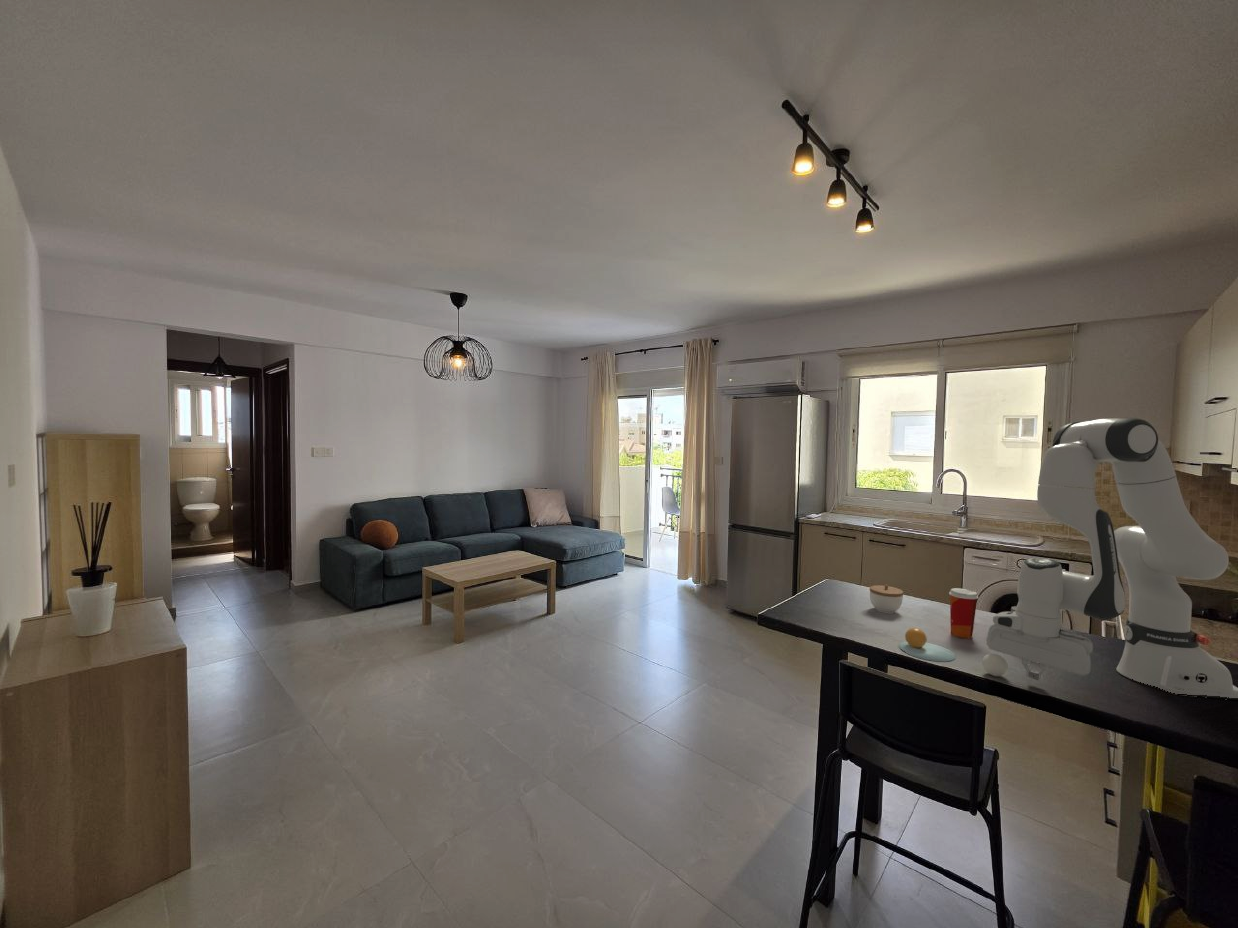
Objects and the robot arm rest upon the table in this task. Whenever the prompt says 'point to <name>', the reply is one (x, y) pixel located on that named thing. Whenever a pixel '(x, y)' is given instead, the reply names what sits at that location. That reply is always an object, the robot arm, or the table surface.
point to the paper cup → (962, 612)
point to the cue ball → (994, 664)
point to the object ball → (915, 637)
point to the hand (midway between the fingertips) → (1034, 678)
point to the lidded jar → (886, 598)
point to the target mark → (928, 652)
